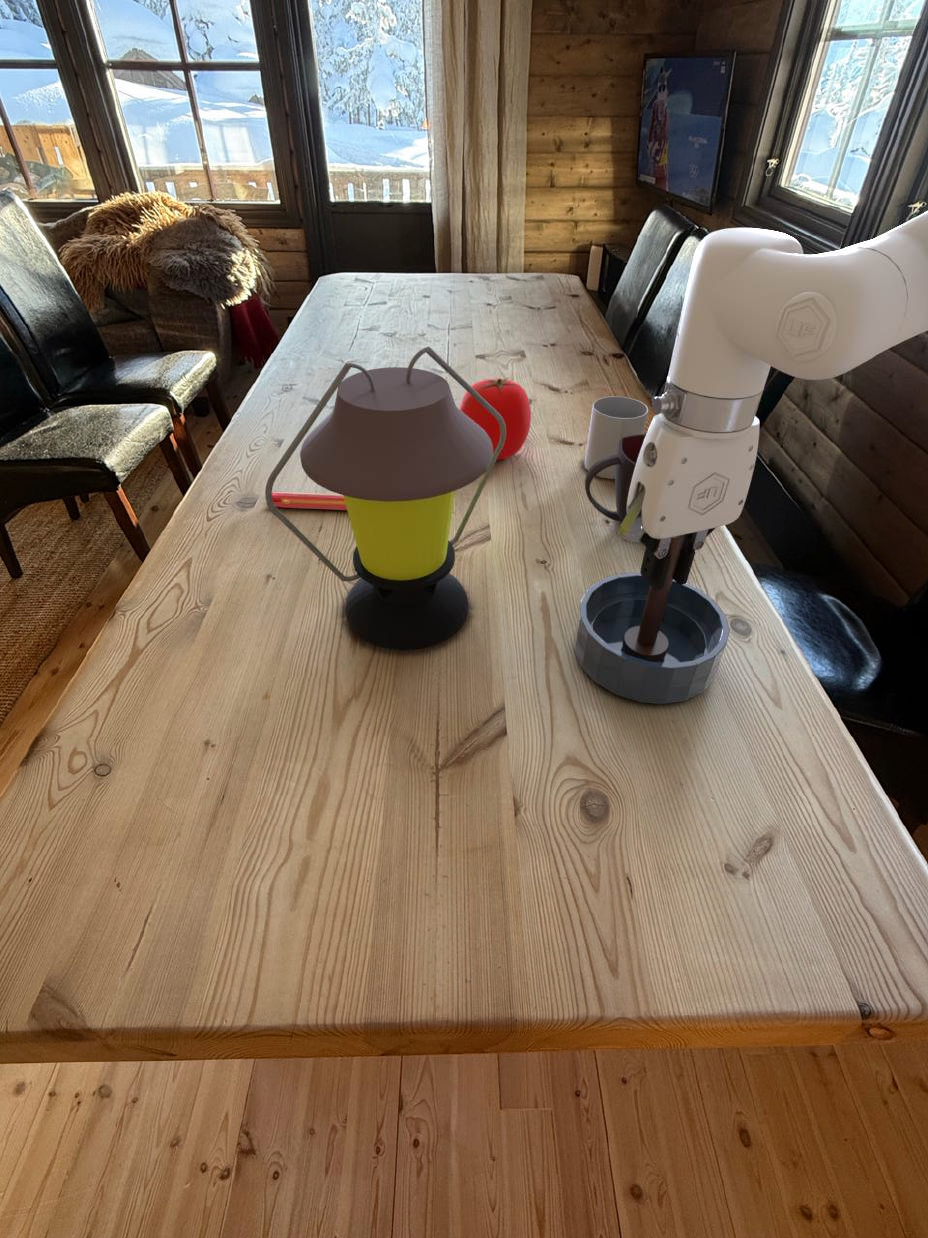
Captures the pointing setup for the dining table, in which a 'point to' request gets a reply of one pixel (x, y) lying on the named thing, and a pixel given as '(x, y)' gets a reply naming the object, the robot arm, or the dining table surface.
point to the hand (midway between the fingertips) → (662, 578)
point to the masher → (654, 616)
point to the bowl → (685, 623)
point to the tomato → (508, 404)
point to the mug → (618, 474)
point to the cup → (612, 428)
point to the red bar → (309, 501)
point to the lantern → (397, 495)
